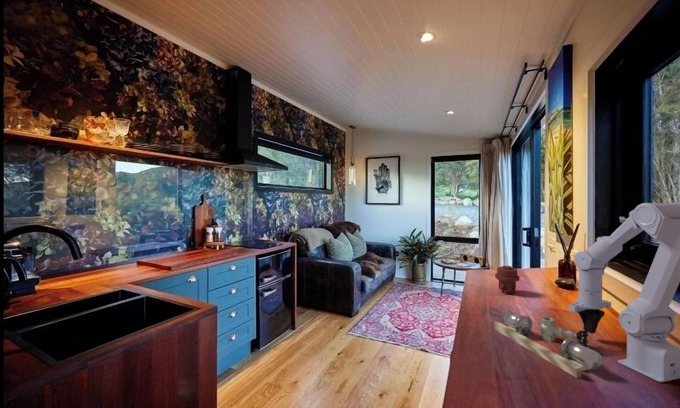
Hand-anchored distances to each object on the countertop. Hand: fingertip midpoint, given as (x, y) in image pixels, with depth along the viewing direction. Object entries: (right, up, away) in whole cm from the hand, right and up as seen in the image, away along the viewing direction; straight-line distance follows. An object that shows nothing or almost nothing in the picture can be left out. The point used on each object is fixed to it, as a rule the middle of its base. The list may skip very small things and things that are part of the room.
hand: (590, 332), depth 96 cm
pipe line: (-17, -3, -4) cm, 18 cm away
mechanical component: (-1, -1, +46) cm, 46 cm away
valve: (-10, -3, -1) cm, 10 cm away
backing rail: (-22, -3, -5) cm, 23 cm away
